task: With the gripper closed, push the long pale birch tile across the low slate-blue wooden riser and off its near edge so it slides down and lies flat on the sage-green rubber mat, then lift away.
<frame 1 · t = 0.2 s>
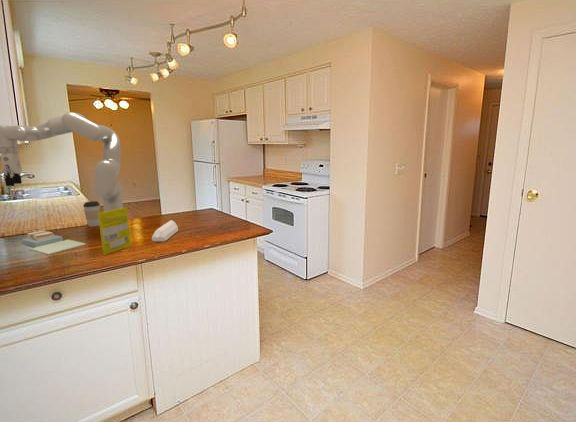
hand: (14, 184, 158), 30 cm above the table, tool pointing down, fingers open, 9 cm apart
riser: (42, 242, 160), on the table
crystal: (166, 236, 172), on the table
coffee cup: (94, 225, 196), on the table
food package: (117, 250, 148), on the table
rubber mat: (59, 246, 153), on the table
birch tile: (41, 237, 160), point 2 cm above the table, touching riser
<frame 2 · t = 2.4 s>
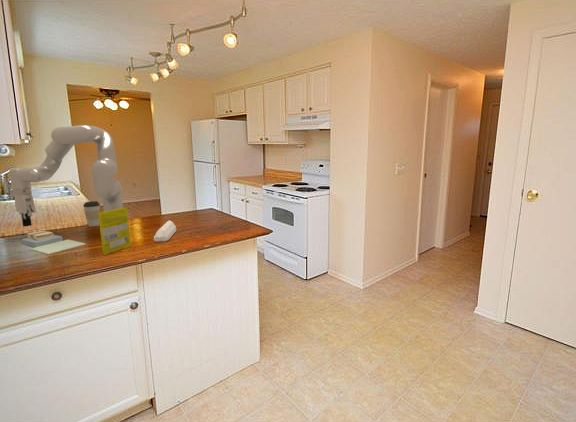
hand: (27, 225, 163), 8 cm above the table, tool pointing down, fingers closed
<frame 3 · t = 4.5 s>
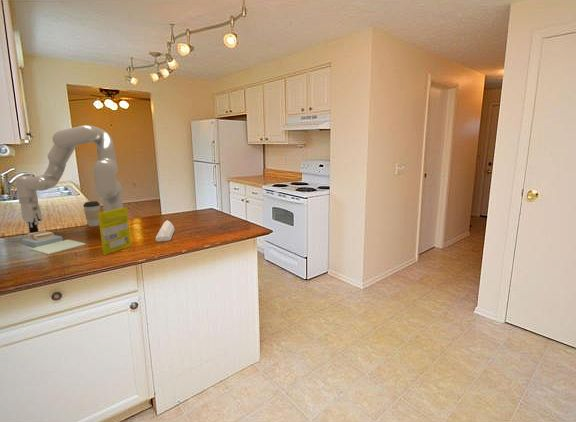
hand: (34, 234, 162), 3 cm above the table, tool pointing down, fingers closed
birch tile: (41, 237, 159), point 3 cm above the table, touching gripper, riser
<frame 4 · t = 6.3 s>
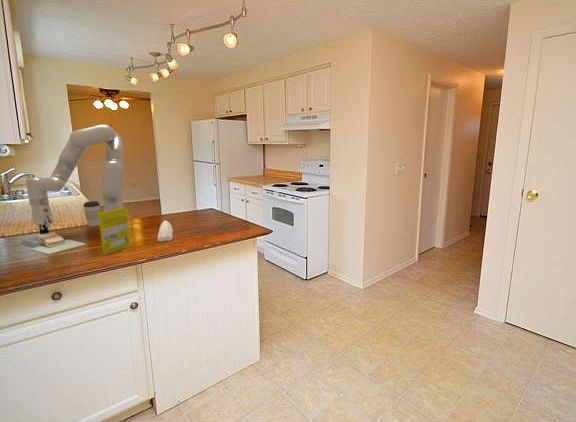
hand: (45, 237, 158), 3 cm above the table, tool pointing down, fingers closed
birch tile: (51, 241, 155), point 2 cm above the table, tilted 17°, touching gripper
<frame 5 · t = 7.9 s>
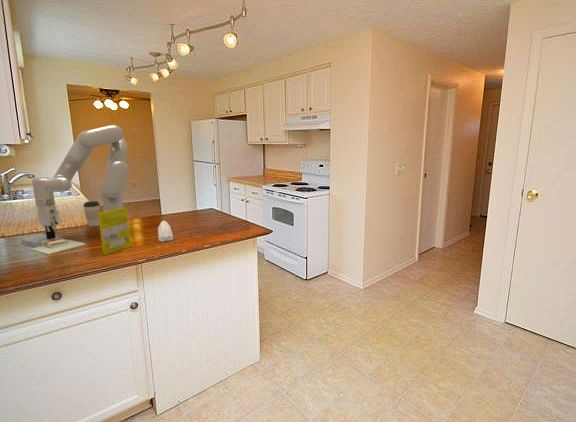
hand: (51, 238, 155), 3 cm above the table, tool pointing down, fingers closed
birch tile: (54, 245, 154), resting on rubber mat
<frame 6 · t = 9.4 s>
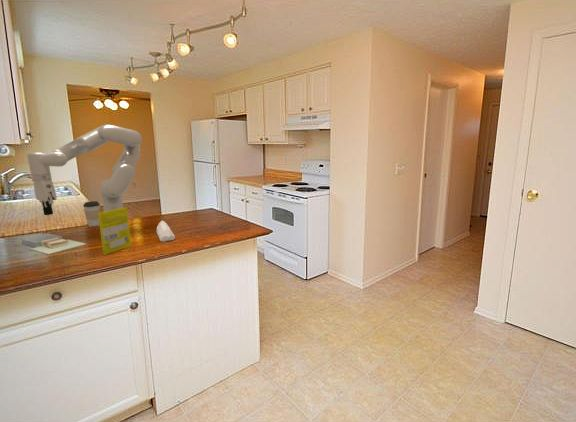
hand: (48, 214, 153), 16 cm above the table, tool pointing down, fingers closed
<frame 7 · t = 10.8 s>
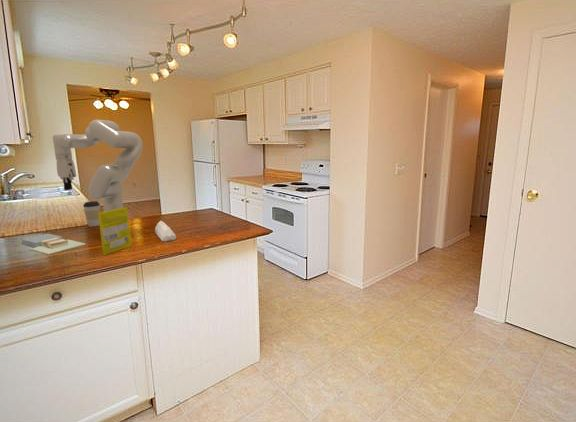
hand: (68, 189, 176), 25 cm above the table, tool pointing down, fingers closed
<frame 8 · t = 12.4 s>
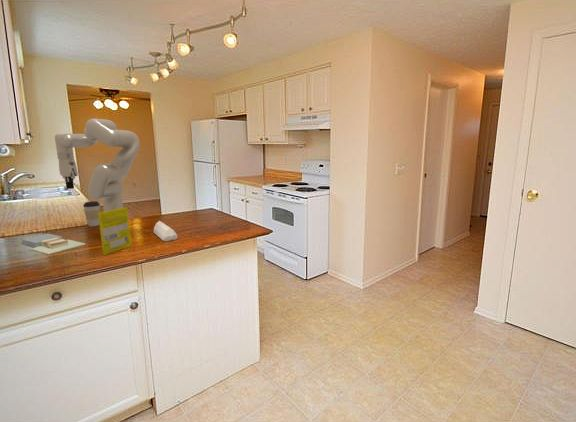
hand: (70, 188, 178), 25 cm above the table, tool pointing down, fingers closed
at the end: birch tile inside the target area (3.4 cm from its centre), resting on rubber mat; birch tile touching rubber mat; birch tile tilted 0° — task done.
